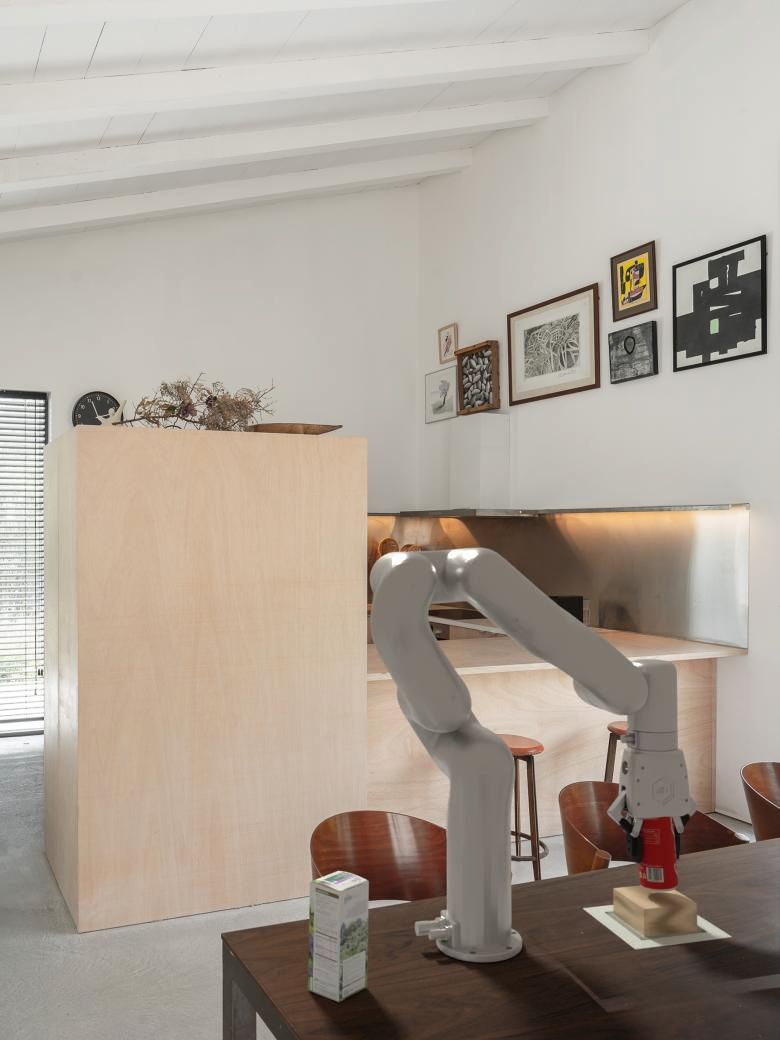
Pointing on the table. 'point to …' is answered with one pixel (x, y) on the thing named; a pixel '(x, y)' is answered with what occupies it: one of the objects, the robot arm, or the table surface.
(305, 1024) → the table surface
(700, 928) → the board
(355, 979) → the syrup box
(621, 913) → the oak block
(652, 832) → the beverage can
